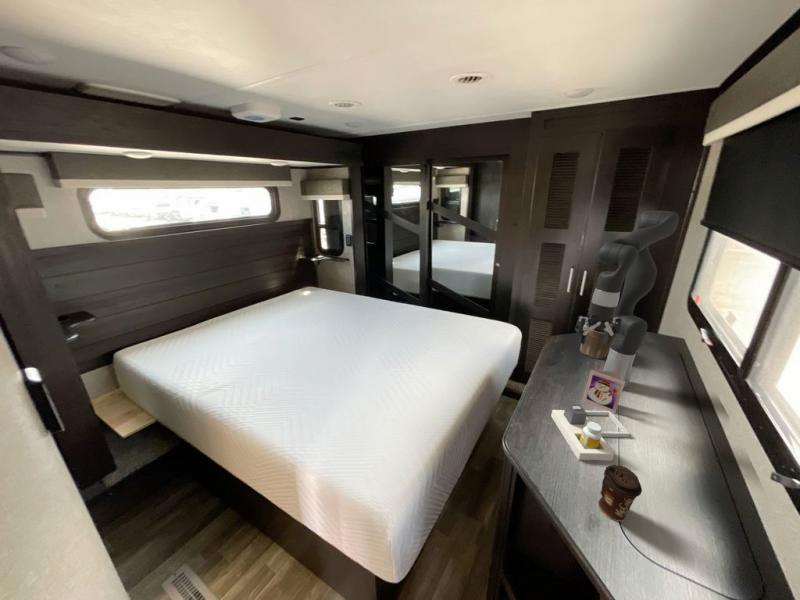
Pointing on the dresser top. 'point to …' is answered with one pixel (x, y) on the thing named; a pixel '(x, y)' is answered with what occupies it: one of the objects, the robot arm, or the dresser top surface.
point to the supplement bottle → (591, 436)
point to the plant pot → (596, 344)
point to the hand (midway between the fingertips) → (593, 343)
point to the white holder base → (579, 433)
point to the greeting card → (604, 389)
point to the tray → (614, 419)
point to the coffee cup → (618, 491)
